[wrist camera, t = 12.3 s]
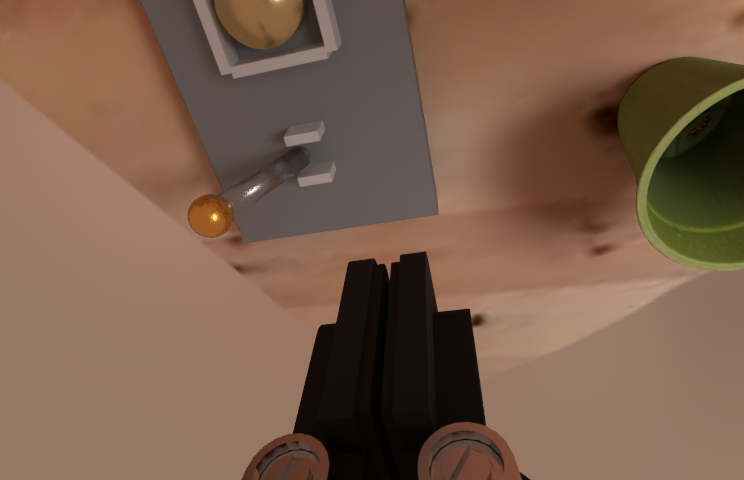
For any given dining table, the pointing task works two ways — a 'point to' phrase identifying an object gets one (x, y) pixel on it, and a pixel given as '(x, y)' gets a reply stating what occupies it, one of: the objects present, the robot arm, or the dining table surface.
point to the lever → (244, 193)
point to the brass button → (261, 20)
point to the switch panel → (308, 112)
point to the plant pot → (689, 160)
